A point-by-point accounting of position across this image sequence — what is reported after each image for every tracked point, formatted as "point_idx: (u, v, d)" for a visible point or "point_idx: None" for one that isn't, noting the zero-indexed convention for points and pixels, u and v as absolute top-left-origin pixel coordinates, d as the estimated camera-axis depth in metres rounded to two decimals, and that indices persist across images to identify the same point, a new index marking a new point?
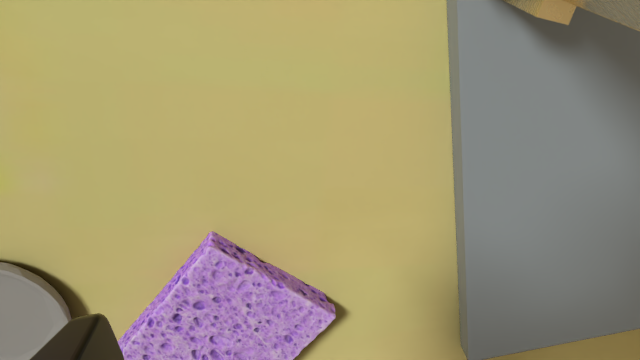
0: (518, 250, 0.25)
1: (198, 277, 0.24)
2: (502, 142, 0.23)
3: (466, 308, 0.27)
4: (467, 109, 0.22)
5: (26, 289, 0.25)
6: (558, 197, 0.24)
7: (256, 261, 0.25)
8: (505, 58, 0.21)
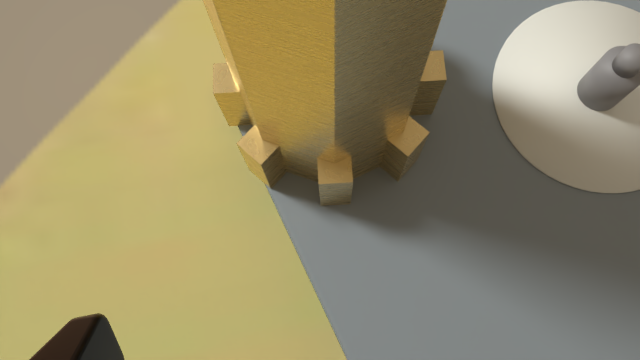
0: None
1: None
2: (396, 349, 0.20)
3: None
4: (338, 321, 0.20)
5: None
6: None
7: None
8: (354, 257, 0.20)
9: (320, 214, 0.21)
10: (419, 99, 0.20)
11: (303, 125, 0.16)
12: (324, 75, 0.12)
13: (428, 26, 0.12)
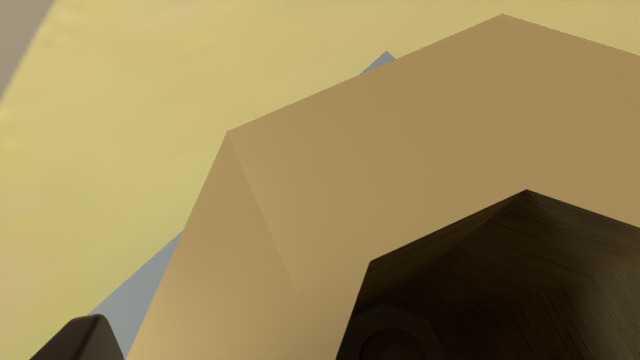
0: None
1: None
2: None
3: None
4: None
5: None
6: None
7: None
8: None
9: None
10: None
11: None
12: None
13: None
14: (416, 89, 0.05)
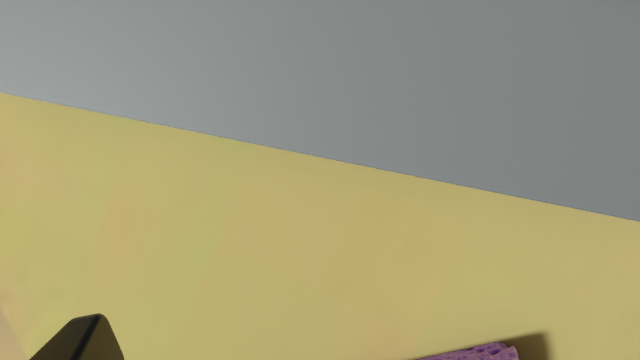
0: (490, 115, 0.18)
1: None
2: (311, 105, 0.18)
3: (560, 204, 0.18)
4: (255, 135, 0.19)
5: None
6: (425, 45, 0.17)
7: None
8: (207, 82, 0.18)
9: (149, 83, 0.19)
10: None
11: None
12: None
13: None
14: None
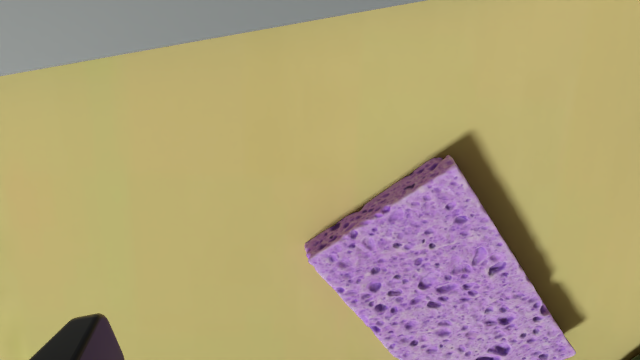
0: None
1: (340, 279, 0.23)
2: None
3: None
4: (109, 47, 0.18)
5: None
6: None
7: (352, 218, 0.23)
8: (34, 9, 0.17)
9: None
10: None
11: None
12: None
13: None
14: None
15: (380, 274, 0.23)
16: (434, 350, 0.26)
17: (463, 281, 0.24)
